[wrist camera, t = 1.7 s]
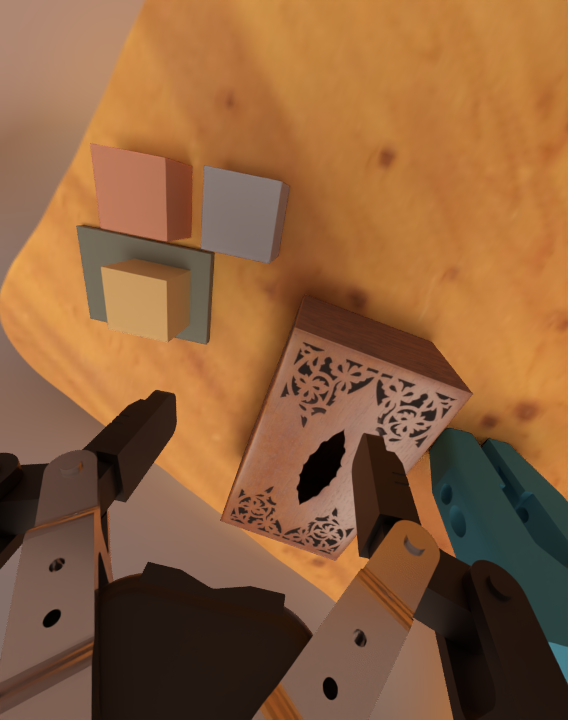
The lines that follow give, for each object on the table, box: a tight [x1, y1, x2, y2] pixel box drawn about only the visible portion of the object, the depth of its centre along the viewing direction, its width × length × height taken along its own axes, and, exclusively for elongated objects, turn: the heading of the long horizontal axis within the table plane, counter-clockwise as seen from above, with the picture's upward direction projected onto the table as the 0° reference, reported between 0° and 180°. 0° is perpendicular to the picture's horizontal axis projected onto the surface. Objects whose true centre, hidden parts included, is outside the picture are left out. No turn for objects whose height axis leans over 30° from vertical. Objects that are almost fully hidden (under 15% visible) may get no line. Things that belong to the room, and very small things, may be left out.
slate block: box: [201, 165, 290, 264], centre depth 25 cm, size 6×6×5 cm
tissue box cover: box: [220, 294, 473, 561], centre depth 32 cm, size 26×14×10 cm, turn 162°
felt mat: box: [76, 225, 214, 344], centre depth 31 cm, size 10×14×1 cm
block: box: [429, 428, 568, 683], centre depth 27 cm, size 12×5×20 cm, turn 77°
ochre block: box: [101, 259, 191, 343], centre depth 29 cm, size 6×6×5 cm
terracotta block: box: [90, 143, 192, 242], centre depth 25 cm, size 6×6×5 cm
